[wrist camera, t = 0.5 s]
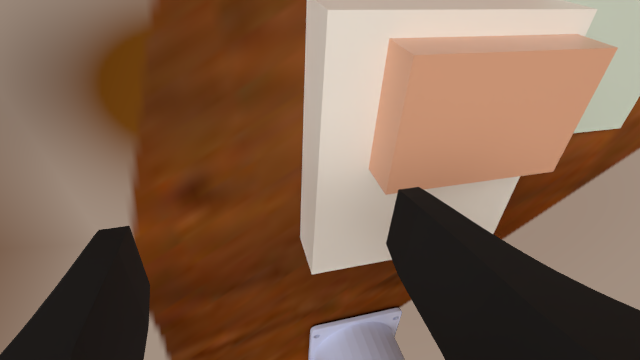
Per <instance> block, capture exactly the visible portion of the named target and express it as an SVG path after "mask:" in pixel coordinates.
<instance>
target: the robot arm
mask: <svg viewBox="0 0 640 360" xmlns="http://www.w3.org/2000/svg"><path fill="white" fill-rule="evenodd" d="M386 245H387V248H388V250H389V253H390V255H391V258H392V261H393V263H394V266H395V268H396V270H397V273H398V275H399V277H400V279H401V281H402V283H403V285H404V286H405V288H406V290H407V292H408V294H409V296H410V297H411V299H412V301H413V303H414V304H415V306H416V308H417V310H418V312H419V313H420V315H421V317H422V319H423V320H424V322H425V324H426V326H427V327H428V329H429V331H430V332H431V335H432V336H433V338H434V340H435V342H436V343H437V345H438V347H439V349H440V350H441V352H442V354H443V356H444V358H445V360H640V310H638V309H635V308H633V307H631V306H628V305H626V304H624V303H622V302H619V301H617V300H614V299H612V298H610V297H608V296H606V295H604V294H602V293H599V292H597V291H595V290H593V289H591V288H589V287H587V286H585V285H583V284H581V283H579V282H577V281H575V280H573V279H571V278H569V277H567V276H565V275H563V274H561V273H559V272H557V271H555V270H553V269H551V268H550V267H548V266H546V265H544V264H542V263H541V262H539V261H537V260H535V259H534V258H532V257H530V256H528V255H527V254H525V253H523V252H522V251H520V250H518V249H516V248H515V247H513V246H511V245H510V244H508V243H506V242H505V241H503V240H501V239H500V238H498V237H497V236H495V235H493V234H492V233H490V232H489V231H487V230H485V229H484V228H482V227H481V226H479V225H478V224H476V223H475V222H473V221H471V220H470V219H468V218H467V217H465V216H464V215H462V214H461V213H459V212H458V211H456V210H455V209H453V208H452V207H450V206H449V205H447V204H446V203H444V202H443V201H441V200H439V199H438V198H436V197H435V196H433V195H432V194H430V193H428V192H427V191H425V190H423V189H422V188H420V187H414V188H407V189H399V190H398V193H397V198H396V202H395V206H394V211H393V215H392V219H391V224H390V228H389V233H388V237H387V241H386ZM149 297H150V284H149V281H148V278H147V275H146V272H145V269H144V267H143V264H142V261H141V258H140V255H139V252H138V249H137V247H136V244H135V241H134V238H133V235H132V232H131V229H130V227H129V226H125V227H118V228H111V229H103V230H99V231H98V232H97V233H96V234H95V235H94V237H93V238H92V239H91V241H90V242H89V243H88V245H87V246H86V247H85V249H84V250H83V251H82V253H81V254H80V256H79V257H78V258H77V260H76V261H75V262H74V264H73V265H72V266H71V268H70V269H69V270H68V272H67V273H66V274H65V276H64V277H63V278H62V279H61V281H60V282H59V283H58V285H57V286H56V287H55V289H54V290H53V291H52V292H51V294H50V295H49V296H48V298H47V299H46V300H45V301H44V303H43V304H42V305H41V306H40V308H39V309H38V310H37V312H36V313H35V314H34V315H33V317H32V318H31V319H30V320H29V321H28V323H27V324H26V325H25V326H24V328H23V329H22V330H21V331H20V332H19V333H18V335H17V336H16V337H15V338H14V339H13V340H12V342H11V343H10V344H9V345H8V346H7V347H6V349H5V350H4V351H3V352H2V353H1V354H0V360H143V359H144V352H145V346H146V339H147V333H148V325H149ZM401 314H402V311H401V309H400V308H393V309H388V310H384V311H379V312H375V313H370V314H366V315H361V316H357V317H352V318H348V319H343V320H339V321H334V322H330V323H325V324H321V325H316V326H314V327H312V328H311V330H310V342H309V357H308V360H404V357H403V355H402V353H401V351H400V348H399V346H398V344H397V342H396V340H395V338H394V337H395V333H396V330H397V327H398V324H399V321H400V318H401Z"/></svg>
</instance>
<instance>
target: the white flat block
mask: <svg viewBox="0 0 640 360" xmlns="http://www.w3.org/2000/svg"><path fill="white" fill-rule="evenodd" d="M596 12H597V9H595V8H591V7H587V6H583V5H580V4H576V3H572V2H568V1H564V0H307V12H306V47H305V82H304V117H303V152H302V187H301V223H300V239H301V242H302V245H303V248H304V251H305V255H306V258H307V261H308V264H309V267H310V270H311V273H312V274H317V273H323V272H328V271H333V270H339V269H344V268H349V267H355V266H360V265H365V264H371V263H376V262H382V261H387V260H392V258H391V255H390V253H389V250H388V248H387V245H386V241H387V237H388V233H389V228H390V224H391V219H392V215H393V211H394V206H395V202H396V198H397V193H394V194H387V195H385V193H384V192H383V190H382V189H381V187H380V186H379V184H378V183H377V181H376V179H375V178H374V176H373V175H372V173H371V172H370V170H369V163H370V157H371V150H372V144H373V138H374V132H375V125H376V119H377V113H378V107H379V100H380V94H381V88H382V81H383V75H384V69H385V63H386V56H387V50H388V44H389V38H425V37H467V36H509V35H551V34H579V35H582V36H585V35H586V33H587V31H588V29H589V27H590V25H591V22H592V20H593V18H594V16H595V14H596ZM519 177H520V176H518V177H510V178H503V179H496V180H489V181H481V182H474V183H467V184H460V185H452V186H445V187H438V188H431V189H423V190H425V191H427V192H428V193H430V194H432V195H433V196H435V197H436V198H438V199H439V200H441V201H443V202H444V203H446V204H447V205H449V206H450V207H452V208H453V209H455V210H456V211H458V212H459V213H461V214H462V215H464V216H465V217H467V218H468V219H470V220H471V221H473V222H475V223H476V224H478V225H479V226H481V227H482V228H484V229H485V230H487V231H489V232H490V233H492V234H493V233H494V231H495V229H496V227H497V225H498V223H499V221H500V218H501V216H502V214H503V212H504V210H505V208H506V205H507V203H508V201H509V199H510V197H511V195H512V193H513V190H514V188H515V186H516V184H517V182H518V180H519Z"/></svg>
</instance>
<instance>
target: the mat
mask: <svg viewBox="0 0 640 360" xmlns="http://www.w3.org/2000/svg"><path fill="white" fill-rule="evenodd" d="M564 1H568V2H572V3H576V4H580V5H583V6H587V7H591V8H595V9H597V12H596V14H595V16H594V18H593V20H592V22H591V25H590V27H589V29H588V31H587V33H586V35H585V37H588V38H591V39H594V40H597V41H600V42H603V43H606V44H609V45H612V46H615V47H618V49H617V51H616V53H615V55H614V56H613V58H612V60H611V62H610V64H609V66H608V68H607V70H606V72H605V74H604V76H603V77H602V79H601V81H600V83H599V85H598V87H597V89H596V91H595V93H594V95H593V96H592V98H591V100H590V102H589V104H588V106H587V108H586V110H585V112H584V114H583V116H582V117H581V119H580V121H579V123H578V125H577V127H576V129H575V131H574V133H580V132H589V131H598V130H608V129H617V128H621V126H622V124H623V123H624V121H625V119H626V118H627V116H628V114H629V113H630V111H631V110H632V108H633V106H634V105H635V103H636V101H637V100H638V98H639V96H640V0H564Z"/></svg>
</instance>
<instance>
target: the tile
mask: <svg viewBox="0 0 640 360" xmlns="http://www.w3.org/2000/svg"><path fill="white" fill-rule="evenodd" d="M617 49H618V47H615V46H612V45H609V44H606V43H603V42H600V41H597V40H594V39H591V38H588V37H585V36H582V35H579V34H551V35H509V36H467V37H425V38H389V44H388V50H387V56H386V63H385V69H384V75H383V81H382V88H381V94H380V100H379V107H378V113H377V119H376V125H375V132H374V138H373V144H372V150H371V157H370V163H369V170H370V172H371V173H372V175H373V176H374V178H375V179H376V181H377V183H378V184H379V186H380V187H381V189H382V190H383V192H384V193H385V195H387V194H394V193H398V190H399V189H407V188H414V187H420V188H422V189H431V188H438V187H445V186H452V185H460V184H467V183H474V182H481V181H489V180H496V179H503V178H510V177H518V176H525V175H532V174H539V173H547V172H553V171H554V169H555V167H556V165H557V163H558V161H559V159H560V157H561V156H562V154H563V152H564V150H565V148H566V146H567V144H568V142H569V140H570V138H571V136H572V135H573V133H574V131H575V129H576V127H577V125H578V123H579V121H580V119H581V117H582V116H583V114H584V112H585V110H586V108H587V106H588V104H589V102H590V100H591V98H592V96H593V95H594V93H595V91H596V89H597V87H598V85H599V83H600V81H601V79H602V77H603V76H604V74H605V72H606V70H607V68H608V66H609V64H610V62H611V60H612V58H613V56H614V55H615V53H616V51H617Z"/></svg>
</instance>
